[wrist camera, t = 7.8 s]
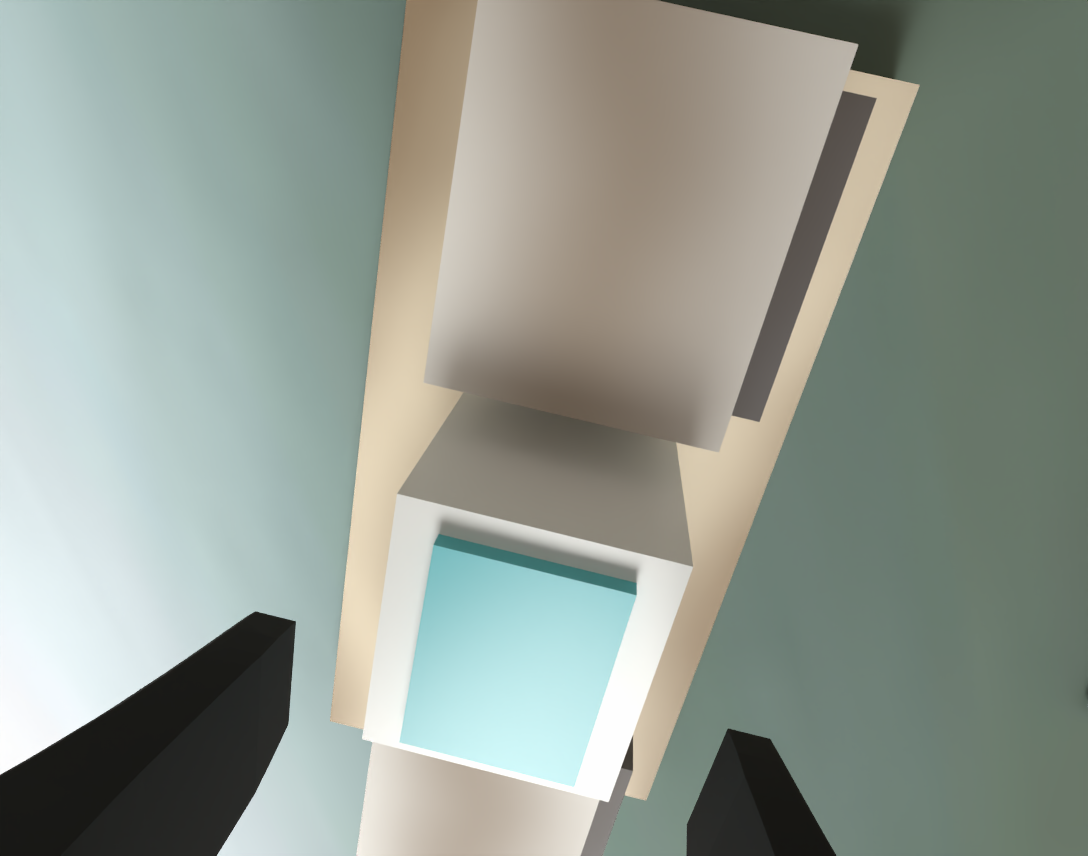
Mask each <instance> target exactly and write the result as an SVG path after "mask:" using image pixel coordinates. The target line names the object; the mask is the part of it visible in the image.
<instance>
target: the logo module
mask: <svg viewBox="0 0 1088 856" xmlns="http://www.w3.org/2000/svg"><path fill="white" fill-rule="evenodd" d="M692 569H693V561H692V553H691V546H690V539H689V532H688V525H687V517H686V510H685V503H684V496H683V488H682V481H681V474H680V467H679V459H678V452H677V445H676V442H672V441H668V440H663V439H659V438H655V437H651V436H647V435H642V434H638V433H634V432H630V431H625V430H621V429H617V428H613V427H608V426H604V425H600V424H596V423H592V422H587V421H583V420H579V419H575V418H570V417H566V416H562V415H558V414H554V413H549V412H545V411H541V410H537V409H532V408H528V407H524V406H520V405H515V404H511V403H507V402H503V401H499V400H494V399H490V398H486V397H482V396H477V395H473V394H469V393H465V392H464V393H463V394H462V396H461V397H460V399H459V400H458V402H457V403H456V405H455V406H454V408H453V409H452V411H451V412H450V414H449V415H448V417H447V418H446V420H445V422H444V423H443V425H442V426H441V428H440V429H439V431H438V432H437V434H436V435H435V437H434V438H433V440H432V441H431V443H430V444H429V446H428V447H427V449H426V450H425V452H424V453H423V455H422V456H421V458H420V460H419V461H418V463H417V464H416V466H415V467H414V469H413V470H412V472H411V473H410V475H409V476H408V478H407V479H406V481H405V482H404V484H403V485H402V487H401V488H400V490H399V491H398V493H397V497H396V504H395V511H394V518H393V525H392V533H391V540H390V547H389V554H388V561H387V568H386V575H385V582H384V589H383V596H382V603H381V610H380V617H379V624H378V631H377V638H376V645H375V652H374V659H373V667H372V674H371V681H370V688H369V695H368V702H367V709H366V716H365V723H364V730H363V737H362V739H364V740H368V741H372V742H375V743H379V744H383V745H387V746H391V747H395V748H399V749H403V750H407V751H411V752H414V753H418V754H422V755H426V756H430V757H434V758H438V759H442V760H446V761H450V762H453V763H457V764H461V765H465V766H469V767H473V768H477V769H481V770H485V771H489V772H492V773H496V774H500V775H504V776H508V777H512V778H516V779H520V780H524V781H528V782H531V783H535V784H539V785H543V786H547V787H551V788H555V789H559V790H563V791H567V792H571V793H574V794H578V795H582V796H586V797H590V798H594V799H598V800H602V801H606V802H609V800H610V797H611V794H612V791H613V788H614V786H615V783H616V780H617V777H618V775H619V772H620V769H621V766H622V763H623V761H624V758H625V755H626V752H627V750H628V747H629V744H630V741H631V738H632V736H633V733H634V730H635V727H636V725H637V722H638V719H639V716H640V713H641V711H642V708H643V705H644V702H645V700H646V697H647V694H648V691H649V688H650V686H651V683H652V680H653V677H654V675H655V672H656V669H657V666H658V663H659V661H660V658H661V655H662V652H663V650H664V647H665V644H666V641H667V638H668V636H669V633H670V630H671V627H672V625H673V622H674V619H675V616H676V614H677V611H678V608H679V605H680V602H681V600H682V597H683V594H684V591H685V589H686V586H687V583H688V580H689V577H690V575H691V572H692Z"/></svg>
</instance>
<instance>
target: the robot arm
mask: <svg viewBox="0 0 1088 856" xmlns="http://www.w3.org/2000/svg"><path fill="white" fill-rule="evenodd" d="M295 625H296V621H292V620H288V619H284V618H280V617H276V616H272V615H267V614H263V613H259V612H254V613H252V614H250V615H249V616H247V617H246V618H244V619H243V620H241V621H240V622H238V623H237V624H235V625H234V626H232V627H231V628H230V629H228V630H227V631H225V632H224V633H222V634H221V635H220V636H218V637H217V638H215V639H214V640H212V641H211V642H210V643H208V644H207V645H205V646H204V647H202V648H201V649H200V650H198V651H197V652H195V653H194V654H192V655H191V656H189V657H188V658H187V659H185V660H184V661H182V662H181V663H179V664H178V665H176V666H175V667H173V668H172V669H170V670H169V671H168V672H166V673H165V674H163V675H162V676H160V677H159V678H157V679H156V680H154V681H152V682H151V683H149V684H148V685H146V686H145V687H143V688H142V689H140V690H139V691H137V692H136V693H134V694H133V695H131V696H130V697H128V698H127V699H125V700H124V701H122V702H121V703H119V704H117V705H116V706H114V707H113V708H111V709H110V710H108V711H107V712H105V713H103V714H102V715H100V716H99V717H97V718H95V719H94V720H92V721H90V722H89V723H87V724H85V725H84V726H82V727H81V728H79V729H77V730H76V731H74V732H72V733H71V734H69V735H67V736H66V737H64V738H62V739H61V740H59V741H57V742H56V743H54V744H52V745H51V746H49V747H47V748H46V749H44V750H42V751H41V752H39V753H37V754H36V755H34V756H32V757H31V758H29V759H27V760H26V761H24V762H22V763H20V764H18V765H17V766H15V767H13V768H11V769H10V770H8V771H6V772H4V773H3V774H1V775H0V856H217V854H218V853H219V851H220V849H221V848H222V846H223V845H224V843H225V841H226V840H227V838H228V836H229V835H230V833H231V832H232V830H233V828H234V827H235V825H236V824H237V822H238V820H239V819H240V817H241V815H242V814H243V812H244V811H245V809H246V807H247V806H248V804H249V802H250V801H251V799H252V797H253V796H254V794H255V792H256V790H257V788H258V786H259V784H260V782H261V780H262V778H263V776H264V774H265V772H266V770H267V768H268V766H269V764H270V762H271V760H272V758H273V755H274V753H275V751H276V749H277V747H278V745H279V743H280V741H281V739H282V736H283V734H284V732H285V730H286V728H287V726H288V721H289V708H290V694H291V680H292V666H293V653H294V639H295ZM687 856H836V854H835V852H834V851H833V849H832V847H831V846H830V844H829V842H828V840H827V839H826V837H825V835H824V833H823V832H822V830H821V828H820V826H819V825H818V823H817V821H816V819H815V818H814V816H813V814H812V812H811V811H810V809H809V807H808V805H807V803H806V802H805V800H804V798H803V796H802V794H801V793H800V791H799V789H798V787H797V786H796V784H795V782H794V780H793V778H792V777H791V775H790V773H789V771H788V769H787V768H786V766H785V764H784V762H783V760H782V759H781V757H780V755H779V753H778V752H777V750H776V748H775V746H774V745H773V743H772V741H771V740H770V739H768V738H764V737H760V736H756V735H752V734H748V733H744V732H740V731H736V730H732V729H728V730H727V732H726V734H725V737H724V739H723V741H722V744H721V746H720V748H719V751H718V753H717V756H716V758H715V760H714V763H713V765H712V767H711V770H710V772H709V774H708V777H707V779H706V781H705V784H704V786H703V788H702V791H701V793H700V795H699V798H698V800H697V802H696V805H695V807H694V810H693V812H692V814H691V817H690V819H689V821H688V824H687Z"/></svg>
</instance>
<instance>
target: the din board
mask: <svg viewBox="0 0 1088 856" xmlns="http://www.w3.org/2000/svg"><path fill="white" fill-rule="evenodd" d="M858 45H859V44H855V43H850V42H846V41H841V40H836V39H832V38H827V37H823V36H818V35H814V34H809V33H804V32H800V31H795V30H791V29H786V28H781V27H777V26H772V25H768V24H763V23H759V22H754V21H749V20H745V19H740V18H736V17H731V16H727V15H722V14H717V13H713V12H708V11H704V10H699V9H695V8H690V7H685V6H681V5H676V4H672V3H667V2H663V1H658V0H406V10H405V19H404V29H403V38H402V48H401V57H400V67H399V76H398V85H397V95H396V104H395V114H394V123H393V133H392V142H391V151H390V161H389V170H388V180H387V189H386V199H385V208H384V217H383V227H382V236H381V246H380V255H379V265H378V274H377V283H376V293H375V302H374V312H373V321H372V331H371V340H370V350H369V359H368V368H367V378H366V387H365V397H364V406H363V416H362V425H361V434H360V444H359V453H358V463H357V472H356V482H355V491H354V500H353V510H352V519H351V529H350V538H349V548H348V557H347V567H346V576H345V585H344V595H343V604H342V614H341V623H340V633H339V642H338V651H337V661H336V670H335V680H334V689H333V699H332V708H331V717H330V721H332V722H336V723H340V724H344V725H348V726H352V727H356V728H360V729H364V723H365V716H366V709H367V702H368V695H369V688H370V681H371V674H372V667H373V659H374V652H375V645H376V638H377V631H378V624H379V617H380V610H381V603H382V596H383V589H384V582H385V575H386V568H387V561H388V554H389V547H390V540H391V533H392V525H393V518H394V511H395V504H396V497H397V493H398V491H399V490H400V488H401V487H402V485H403V484H404V482H405V481H406V479H407V478H408V476H409V475H410V473H411V472H412V470H413V469H414V467H415V466H416V464H417V463H418V461H419V460H420V458H421V456H422V455H423V453H424V452H425V450H426V449H427V447H428V446H429V444H430V443H431V441H432V440H433V438H434V437H435V435H436V434H437V432H438V431H439V429H440V428H441V426H442V425H443V423H444V422H445V420H446V418H447V417H448V415H449V414H450V412H451V411H452V409H453V408H454V406H455V405H456V403H457V402H458V400H459V399H460V397H461V396H462V394H463V393H464V392H465V393H469V394H473V395H477V396H482V397H486V398H490V399H494V400H499V401H503V402H507V403H511V404H515V405H520V406H524V407H528V408H532V409H537V410H541V411H545V412H549V413H554V414H558V415H562V416H566V417H570V418H575V419H579V420H583V421H587V422H592V423H596V424H600V425H604V426H608V427H613V428H617V429H621V430H625V431H630V432H634V433H638V434H642V435H647V436H651V437H655V438H659V439H663V440H668V441H672V442H676V445H677V452H678V459H679V467H680V474H681V481H682V488H683V496H684V503H685V510H686V517H687V525H688V532H689V539H690V546H691V553H692V561H693V569H692V572H691V575H690V577H689V580H688V583H687V586H686V589H685V591H684V594H683V597H682V600H681V602H680V605H679V608H678V611H677V614H676V616H675V619H674V622H673V625H672V627H671V630H670V633H669V636H668V638H667V641H666V644H665V647H664V650H663V652H662V655H661V658H660V661H659V663H658V666H657V669H656V672H655V675H654V677H653V680H652V683H651V686H650V688H649V691H648V694H647V697H646V700H645V702H644V705H643V708H642V711H641V713H640V716H639V719H638V722H637V725H636V727H635V730H634V733H633V736H632V738H631V741H630V744H629V747H628V750H627V752H626V755H625V758H624V761H623V763H622V766H621V769H620V772H619V775H618V777H617V780H616V783H615V786H614V788H613V791H612V794H611V797H610V800H609V802H606V801H602V800H598V799H594V798H590V797H586V796H582V795H578V794H574V793H571V792H567V791H563V790H559V789H555V788H551V787H547V786H543V785H539V784H535V783H531V782H528V781H524V780H520V779H516V778H512V777H508V776H504V775H500V774H496V773H492V772H489V771H485V770H481V769H477V768H473V767H469V766H465V765H461V764H457V763H453V762H450V761H446V760H442V759H438V758H434V757H430V756H426V755H422V754H418V753H414V752H411V751H407V750H403V749H399V748H395V747H391V746H387V745H383V744H379V743H375V742H372V748H371V755H370V762H369V769H368V776H367V783H366V790H365V797H364V804H363V812H362V819H361V826H360V833H359V840H358V847H357V854H356V856H602V855H603V853H604V850H605V847H606V844H607V842H608V839H609V836H610V833H611V831H612V828H613V825H614V822H615V820H616V817H617V814H618V811H619V809H620V806H621V803H622V800H623V798H624V795H626V796H630V797H634V798H638V799H642V800H646V799H647V797H648V794H649V792H650V789H651V786H652V784H653V781H654V779H655V776H656V773H657V771H658V768H659V766H660V763H661V760H662V758H663V755H664V752H665V750H666V747H667V745H668V742H669V739H670V737H671V734H672V732H673V729H674V726H675V724H676V721H677V718H678V716H679V713H680V711H681V708H682V705H683V703H684V700H685V698H686V695H687V692H688V690H689V687H690V684H691V682H692V679H693V677H694V674H695V671H696V669H697V666H698V664H699V661H700V658H701V656H702V653H703V650H704V648H705V645H706V643H707V640H708V637H709V635H710V632H711V630H712V627H713V624H714V622H715V619H716V616H717V614H718V611H719V609H720V606H721V603H722V601H723V598H724V596H725V593H726V590H727V588H728V585H729V582H730V580H731V577H732V575H733V572H734V569H735V567H736V564H737V562H738V559H739V556H740V554H741V551H742V548H743V546H744V543H745V541H746V538H747V535H748V533H749V530H750V528H751V525H752V522H753V520H754V517H755V515H756V512H757V509H758V507H759V504H760V501H761V499H762V496H763V494H764V491H765V488H766V486H767V483H768V481H769V478H770V475H771V473H772V470H773V467H774V465H775V462H776V460H777V457H778V454H779V452H780V449H781V447H782V444H783V441H784V439H785V436H786V433H787V431H788V428H789V426H790V423H791V420H792V418H793V415H794V413H795V410H796V407H797V405H798V402H799V399H800V397H801V394H802V392H803V389H804V386H805V384H806V381H807V379H808V376H809V373H810V371H811V368H812V365H813V363H814V360H815V358H816V355H817V352H818V350H819V347H820V345H821V342H822V339H823V337H824V334H825V331H826V329H827V326H828V324H829V321H830V318H831V316H832V313H833V311H834V308H835V305H836V303H837V300H838V297H839V295H840V292H841V290H842V287H843V284H844V282H845V279H846V277H847V274H848V271H849V269H850V266H851V264H852V261H853V258H854V256H855V253H856V250H857V248H858V245H859V243H860V240H861V237H862V235H863V232H864V230H865V227H866V224H867V222H868V219H869V216H870V214H871V211H872V209H873V206H874V203H875V201H876V198H877V196H878V193H879V190H880V188H881V185H882V182H883V180H884V177H885V175H886V172H887V169H888V167H889V164H890V162H891V159H892V156H893V154H894V151H895V148H896V146H897V143H898V141H899V138H900V135H901V133H902V130H903V128H904V125H905V122H906V120H907V117H908V114H909V112H910V109H911V107H912V104H913V101H914V99H915V96H916V94H917V91H918V88H919V86H920V85H917V84H913V83H908V82H904V81H899V80H895V79H890V78H886V77H881V76H876V75H872V74H867V73H863V72H858V71H854V70H850V68H851V65H852V62H853V59H854V56H855V53H856V51H857V48H858Z"/></svg>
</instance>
